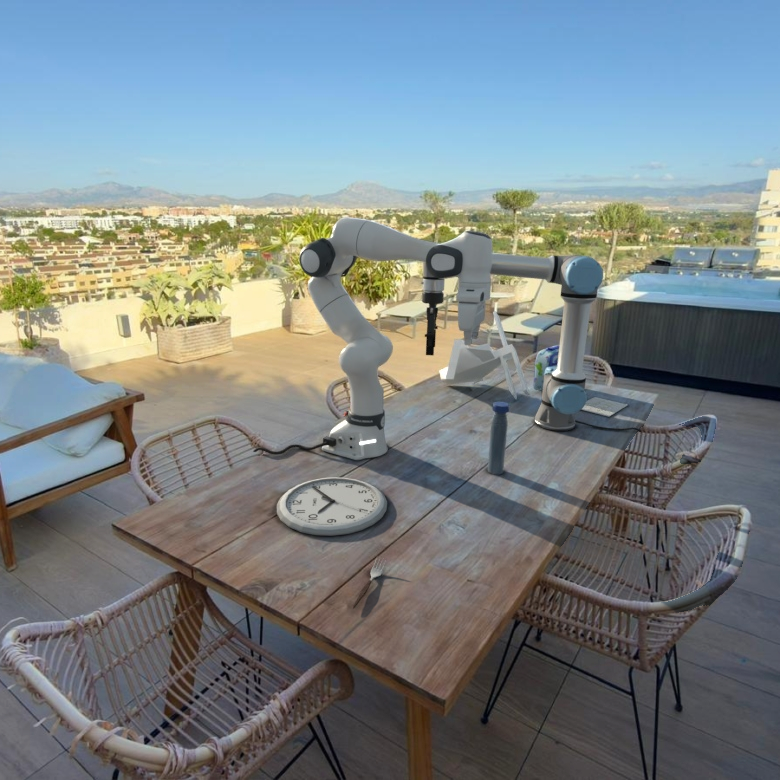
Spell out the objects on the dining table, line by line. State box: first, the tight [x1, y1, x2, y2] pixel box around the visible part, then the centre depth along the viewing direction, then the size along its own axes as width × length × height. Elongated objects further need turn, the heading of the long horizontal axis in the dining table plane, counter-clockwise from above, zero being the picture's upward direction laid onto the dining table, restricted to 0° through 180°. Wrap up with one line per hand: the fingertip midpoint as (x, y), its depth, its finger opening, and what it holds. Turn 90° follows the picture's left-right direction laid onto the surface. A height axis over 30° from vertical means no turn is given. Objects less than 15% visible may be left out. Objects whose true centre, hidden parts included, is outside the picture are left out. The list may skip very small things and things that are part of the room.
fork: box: [352, 555, 387, 609], centre depth 110 cm, size 3×16×2 cm, turn 160°
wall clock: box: [276, 476, 388, 537], centre depth 142 cm, size 30×2×30 cm
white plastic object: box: [438, 310, 531, 400], centre depth 245 cm, size 37×45×31 cm
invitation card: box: [580, 396, 629, 418], centre depth 226 cm, size 21×1×15 cm
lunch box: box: [533, 344, 560, 392], centre depth 247 cm, size 26×11×21 cm, turn 134°
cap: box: [492, 401, 510, 414], centre depth 158 cm, size 5×5×2 cm
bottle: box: [487, 412, 508, 476], centre depth 161 cm, size 5×5×22 cm
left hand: (471, 341), depth 148 cm, fingers open, 8 cm apart
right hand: (430, 350), depth 189 cm, fingers open, 13 cm apart
